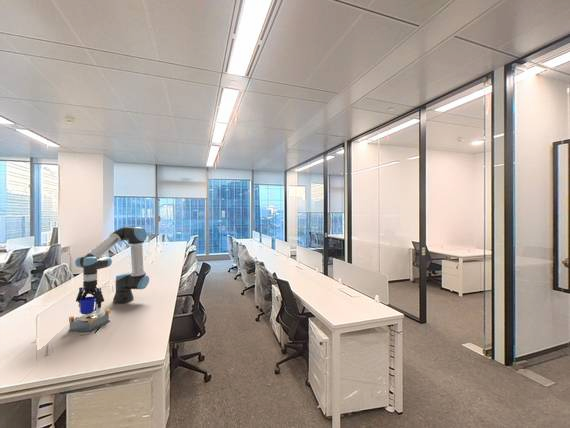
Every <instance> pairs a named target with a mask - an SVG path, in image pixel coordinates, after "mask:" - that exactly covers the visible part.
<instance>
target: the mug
mask: <svg viewBox="0 0 570 428" xmlns="http://www.w3.org/2000/svg"><path fill="white" fill-rule="evenodd" d="M96 304H97V302H96V300H95V298H94V297H93V295H91V296H86V297H85V299H83V300H81V299H80V307H79V310H80V309H81V313H80V314H81V315H85V314H90V313H92V312H96Z"/></svg>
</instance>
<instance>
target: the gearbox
mask: <svg viewBox="0 0 570 428" xmlns="http://www.w3.org/2000/svg"><path fill="white" fill-rule="evenodd" d="M104 311H105V312H99V313H96V311H94V312H92V313H90V314H82V315H81V316H76V317H74V316H69V317H68V318H69V322H68V323H69V329H70V330H69V329H68V330H69V331H68V332H73V333H74V332H75V333H89V334H90V333H91V332H93V331H96V330H97V329H100V328H101V327H103V326H105V325H106V324H108V323H110V322H111V319H109V317H110V314H111V309H106V310H104Z"/></svg>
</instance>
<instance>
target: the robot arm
mask: <svg viewBox="0 0 570 428" xmlns="http://www.w3.org/2000/svg"><path fill="white" fill-rule="evenodd" d="M147 237H148V233H147V230H146V229H145V228H143V227H140V226H124V227H120V228H118V229H116V230H115V231H113V232H111V234H110V235H109V236H108V237H107V238H106V239H105V240H104V241H102V242H101V243H100V244H98V245H97V246H96V247H94V249H92V250H91V251H89V252H88V253H87V254H86V255H84V256H80V257H77V258H76V260H75V267H77V268H82V269H83V271H82V272H83V273H82V275H83V284H82V285H83V286H81V287H79V290H78V293H77V295H76V299H75V302H78V307H79V314H81V309H80V299H81V300H83V299H85V297H88V296H87V295H91V296H92V297H94V298H95V300H96V302H97V304H96V302H95V305H96V311H95V312H96V313H101V308H102V303H104V302H105V299H104V296H103V292H102V288H101V287H97V285H98V270H101V269H106V268H107V267H110V266H111V265H112V263H113V260H112V258H111V257H110V256H104V255H105V254H106V253H107V252H108V251H110V250H111V249H112V248H113V247H115V246H116V245H117V244H120V243H121V242H123V241H127V242H128V243H127V244H128V245H129V246H130V255H131V256H130V259H131V272H126V273H121V274H118V275H116V277H115V281H114V282H115V293H114V297H113V299H112V303H114V304H123V303H124V304H125V303H129V302H131V301H133V300H134V295H133V291H132V290H144V289H146V288H147V286H148V285H149V282H150V277H149V275H147V272H145V270H144V255H143V253H144V251H143V244H144V243H145V241H146V239H147Z"/></svg>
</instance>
